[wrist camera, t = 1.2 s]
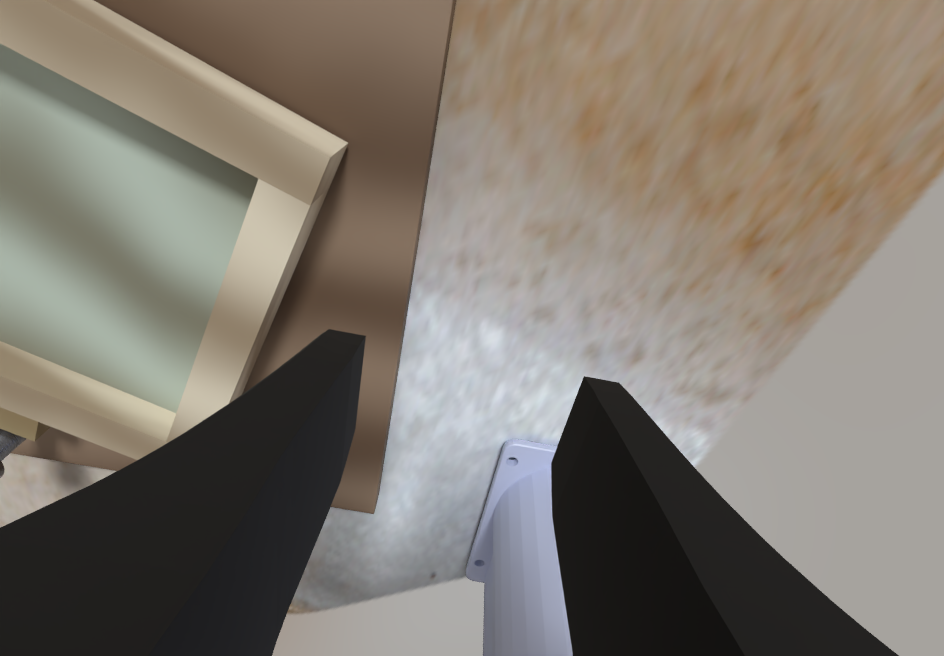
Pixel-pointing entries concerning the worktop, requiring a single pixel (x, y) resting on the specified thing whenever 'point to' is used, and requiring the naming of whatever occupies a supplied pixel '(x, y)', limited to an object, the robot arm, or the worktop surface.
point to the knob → (8, 445)
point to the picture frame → (138, 226)
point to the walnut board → (352, 189)
